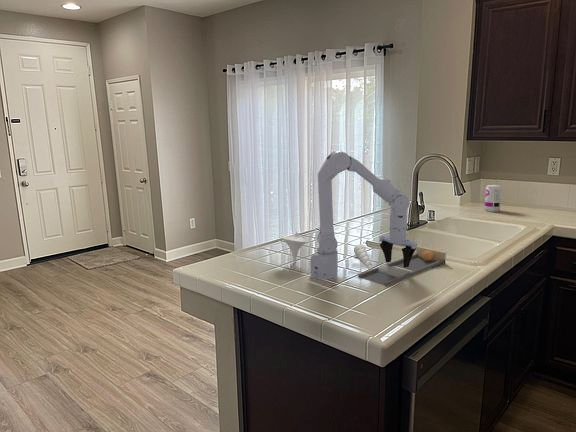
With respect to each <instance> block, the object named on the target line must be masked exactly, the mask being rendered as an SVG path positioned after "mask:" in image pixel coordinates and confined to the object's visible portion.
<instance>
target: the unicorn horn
mask: <svg viewBox="0 0 576 432" xmlns="http://www.w3.org/2000/svg"><path fill="white" fill-rule="evenodd" d="M353 253H354V255H355V256H356V257H357V258H358V259H359V260H360V261H361V262H362V264H363V265H364V266H365V267H366V268H367V269H368V270H372V269H373V266H372V262H371V259H370V258H369V255H368V252H367V249H366V246H364V244H357V245H355V246H354V247H353Z"/></svg>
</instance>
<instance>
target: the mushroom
mask: <svg viewBox="0 0 576 432" xmlns="http://www.w3.org/2000/svg"><path fill="white" fill-rule="evenodd" d="M280 239H281V240H282V241H284V243H285V244H286V245H287V246H288V247H289V250H290V252H291V255H292V259H293V261H294V263H296V262H297V256H298V253H299V251H300V249H301V248H302V246H303V245H305V244H307V243H308V240H307V239H305V238H304V237H302V236H301V235H300V234H299V233H298V231H296V232H295V233H294V234H293V235H288V236H280Z"/></svg>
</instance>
